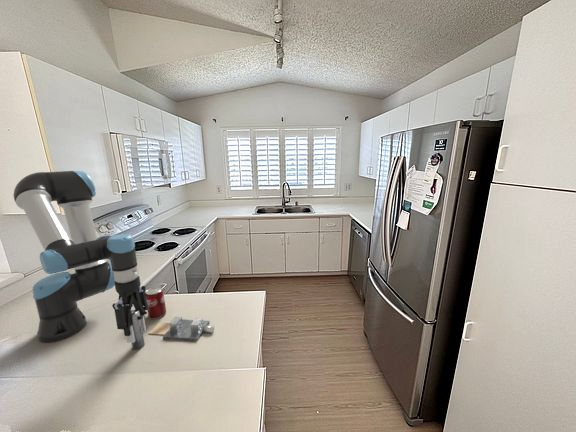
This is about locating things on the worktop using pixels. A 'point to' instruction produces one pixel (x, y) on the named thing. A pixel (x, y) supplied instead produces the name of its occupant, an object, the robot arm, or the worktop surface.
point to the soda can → (155, 302)
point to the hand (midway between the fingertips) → (136, 336)
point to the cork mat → (160, 329)
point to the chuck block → (187, 329)
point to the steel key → (137, 330)
